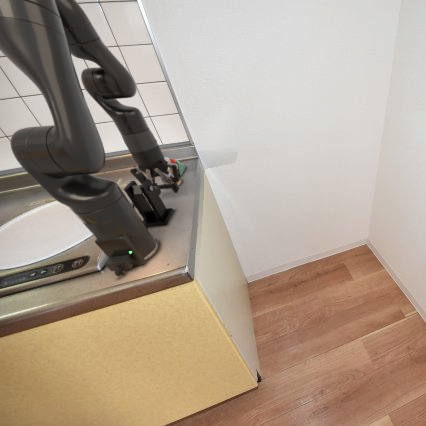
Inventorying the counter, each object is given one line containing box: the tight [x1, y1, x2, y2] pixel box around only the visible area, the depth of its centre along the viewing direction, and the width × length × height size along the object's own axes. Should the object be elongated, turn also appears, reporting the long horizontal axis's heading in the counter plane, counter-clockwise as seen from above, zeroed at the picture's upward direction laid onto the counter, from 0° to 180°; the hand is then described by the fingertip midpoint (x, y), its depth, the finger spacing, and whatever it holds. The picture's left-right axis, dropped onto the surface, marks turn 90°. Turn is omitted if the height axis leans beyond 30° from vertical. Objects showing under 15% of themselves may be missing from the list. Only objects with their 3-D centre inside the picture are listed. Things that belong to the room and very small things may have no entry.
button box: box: [174, 159, 186, 177], centre depth 95 cm, size 7×6×4 cm
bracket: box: [123, 179, 175, 228], centre depth 69 cm, size 7×7×13 cm
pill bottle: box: [160, 156, 182, 186], centre depth 86 cm, size 6×6×10 cm
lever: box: [132, 183, 172, 195], centre depth 73 cm, size 15×5×2 cm, turn 8°
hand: (168, 192), depth 81 cm, fingers closed on lever, 5 cm apart
